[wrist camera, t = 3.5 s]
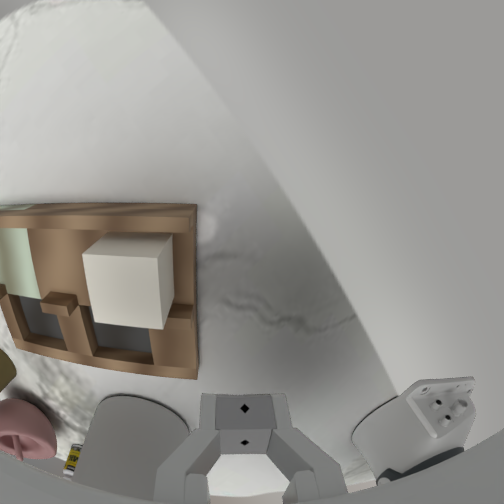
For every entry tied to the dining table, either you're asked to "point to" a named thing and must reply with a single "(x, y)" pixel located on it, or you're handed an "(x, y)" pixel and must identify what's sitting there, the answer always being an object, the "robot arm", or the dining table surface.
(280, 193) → the dining table surface
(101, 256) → the block
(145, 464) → the cylinder vase
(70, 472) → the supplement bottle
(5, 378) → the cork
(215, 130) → the dining table surface
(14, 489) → the robot arm
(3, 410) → the mortar and pestle
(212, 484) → the dining table surface
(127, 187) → the dining table surface
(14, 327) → the box
